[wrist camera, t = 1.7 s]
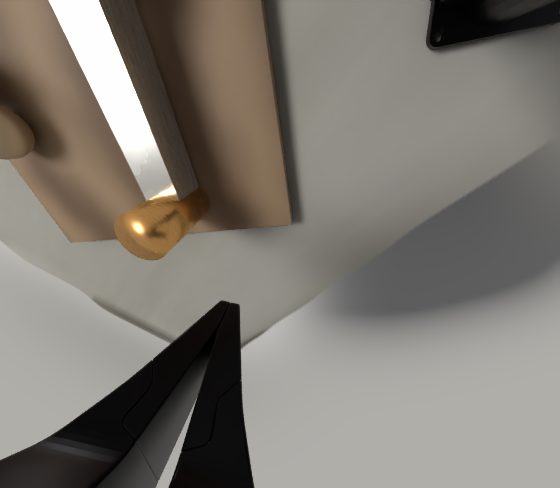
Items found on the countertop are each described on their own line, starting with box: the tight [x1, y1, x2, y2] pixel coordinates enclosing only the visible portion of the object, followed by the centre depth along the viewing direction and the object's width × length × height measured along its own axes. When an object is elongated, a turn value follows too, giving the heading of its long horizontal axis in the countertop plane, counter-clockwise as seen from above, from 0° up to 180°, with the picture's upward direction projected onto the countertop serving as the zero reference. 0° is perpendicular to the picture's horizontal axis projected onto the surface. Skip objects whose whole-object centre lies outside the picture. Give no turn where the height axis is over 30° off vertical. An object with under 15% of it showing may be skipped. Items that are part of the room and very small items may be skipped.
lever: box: [49, 0, 209, 260], centre depth 11 cm, size 20×4×6 cm, turn 9°
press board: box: [0, 0, 293, 243], centre depth 13 cm, size 23×22×7 cm
